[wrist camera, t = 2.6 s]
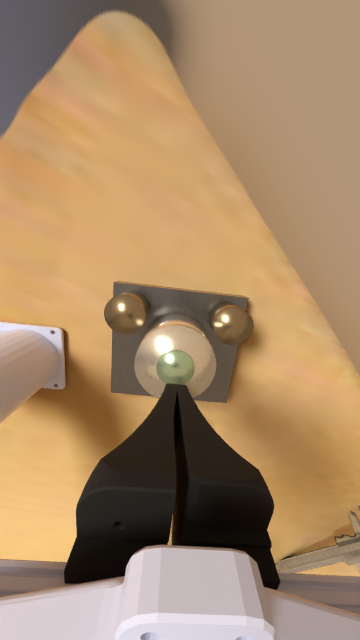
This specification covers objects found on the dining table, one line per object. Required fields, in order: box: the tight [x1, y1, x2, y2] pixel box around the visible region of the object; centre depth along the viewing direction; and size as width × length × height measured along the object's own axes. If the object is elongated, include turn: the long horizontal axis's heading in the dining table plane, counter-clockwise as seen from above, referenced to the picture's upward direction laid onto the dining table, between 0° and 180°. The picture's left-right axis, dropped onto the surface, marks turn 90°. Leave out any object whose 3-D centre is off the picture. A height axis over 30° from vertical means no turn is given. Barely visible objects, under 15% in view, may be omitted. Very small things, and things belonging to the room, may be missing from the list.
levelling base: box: [104, 281, 253, 403], centre depth 21 cm, size 17×25×7 cm
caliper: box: [276, 507, 360, 573], centre depth 30 cm, size 20×1×6 cm, turn 142°
